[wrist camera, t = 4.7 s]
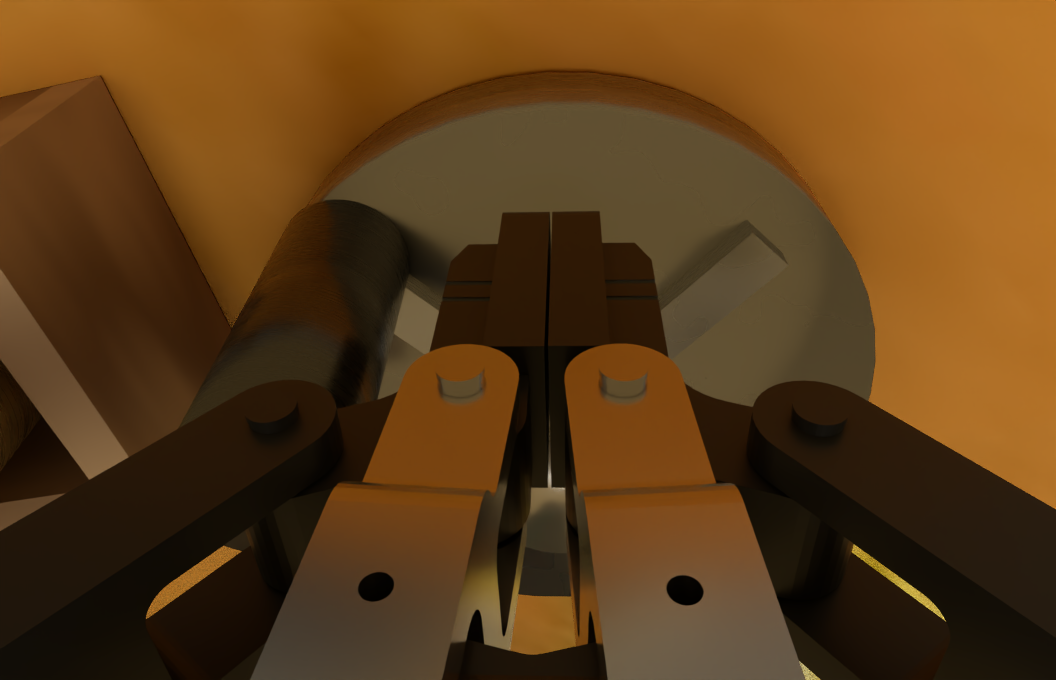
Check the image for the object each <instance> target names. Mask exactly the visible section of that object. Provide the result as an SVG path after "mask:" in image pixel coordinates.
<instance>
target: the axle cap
mask: <svg viewBox="0 0 1056 680" xmlns="http://www.w3.org/2000/svg"><path fill="white" fill-rule="evenodd" d="M526 526H527V539H526V547H528V548H531V549H535V550H539V551H544V552H550V553H567V547H566V508H565V488H551V451H550V425H549V462H548V488H531V507H530V513H529V516H528V519H527V521H526Z"/></svg>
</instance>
